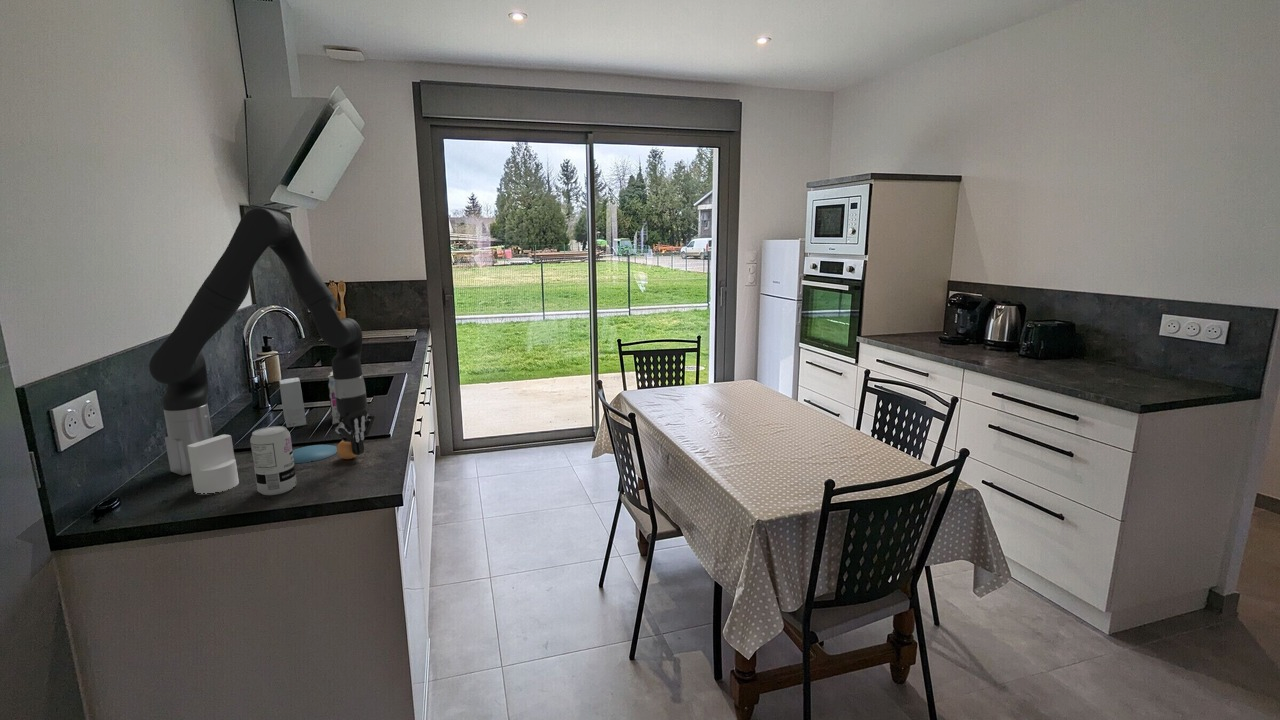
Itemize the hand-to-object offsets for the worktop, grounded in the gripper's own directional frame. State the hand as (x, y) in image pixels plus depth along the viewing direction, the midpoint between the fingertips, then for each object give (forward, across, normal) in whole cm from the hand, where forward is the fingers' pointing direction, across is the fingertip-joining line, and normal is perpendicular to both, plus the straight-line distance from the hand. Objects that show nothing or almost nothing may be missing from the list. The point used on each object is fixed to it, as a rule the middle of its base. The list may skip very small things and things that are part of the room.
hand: (358, 453), depth 161 cm
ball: (-1, 0, -4) cm, 4 cm away
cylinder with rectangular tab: (+1, +25, -21) cm, 32 cm away
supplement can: (+2, +21, -5) cm, 22 cm away
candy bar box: (+1, -28, -34) cm, 44 cm away
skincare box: (+1, -20, -45) cm, 50 cm away
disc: (+1, 0, -17) cm, 17 cm away
